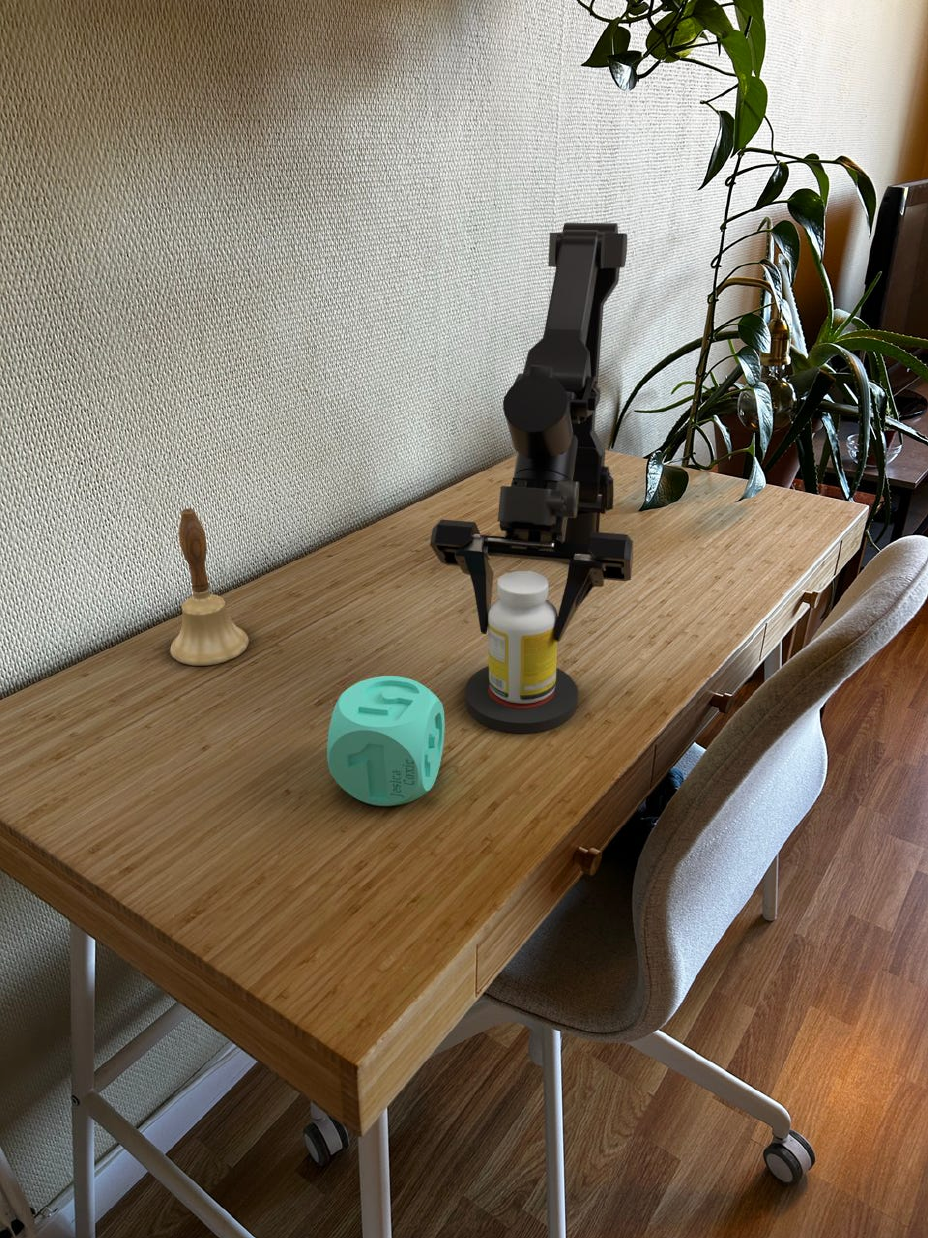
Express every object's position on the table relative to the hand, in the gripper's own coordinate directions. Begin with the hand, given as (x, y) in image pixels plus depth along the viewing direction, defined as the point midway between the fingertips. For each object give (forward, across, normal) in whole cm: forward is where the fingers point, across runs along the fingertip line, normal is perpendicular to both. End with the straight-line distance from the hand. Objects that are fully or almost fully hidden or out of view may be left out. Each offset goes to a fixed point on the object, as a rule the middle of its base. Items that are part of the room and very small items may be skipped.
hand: (519, 636), depth 84 cm
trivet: (+5, 0, +6) cm, 8 cm away
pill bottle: (+4, 0, +6) cm, 7 cm away
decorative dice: (+15, -9, -3) cm, 18 cm away
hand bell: (+3, -35, +9) cm, 36 cm away
